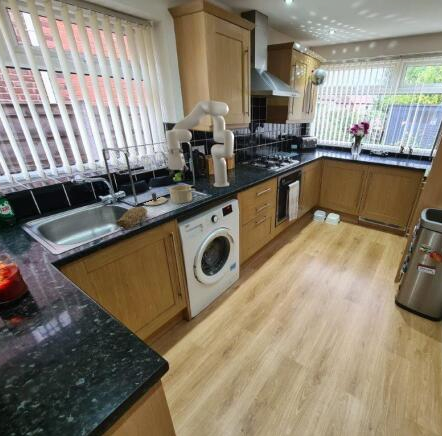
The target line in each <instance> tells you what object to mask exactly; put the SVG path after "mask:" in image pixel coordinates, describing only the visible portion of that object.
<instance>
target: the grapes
mask: <svg viewBox="0 0 442 436" xmlns="http://www.w3.org/2000/svg"><path fill="white" fill-rule="evenodd" d="M175 174H176V175H175V177H174V178H172V180H173V181H174V182H181V181H182V180H181V172H177V173H175Z"/></svg>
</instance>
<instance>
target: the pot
mask: <svg viewBox="0 0 442 436" xmlns="http://www.w3.org/2000/svg"><path fill="white" fill-rule="evenodd" d="M165 191H166V192H167V191H169V195H170V196H169V197H170V202H172V203H173V204H186V203H190V202H191V201H193V193H192V192H194V191H196V189H195V188H192V186H191V185H189V184H178V185H173V186H171V187H167V188H166V189H165Z"/></svg>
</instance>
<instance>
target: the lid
mask: <svg viewBox="0 0 442 436" xmlns="http://www.w3.org/2000/svg"><path fill="white" fill-rule="evenodd" d="M157 197H158V196H157V193H156V192H152V193H151V198H152V199H153V200H152V201H149V202H146V203H143V202H142V204H143V205H145V206H157V205H162V204H165V203H166V202H167V200H168V199H167V198H166V197H164V196H159V197H160V198H158V199H157Z"/></svg>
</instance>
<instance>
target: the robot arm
mask: <svg viewBox="0 0 442 436" xmlns="http://www.w3.org/2000/svg"><path fill="white" fill-rule="evenodd" d="M228 113H229V106H228V104H227V103H225V102H224V101H223V102H222V101H216V100H200V101H199V102H197V104H196V105H195V106H194V107H193V109H192V110H191V112H189V114H188V115H186V116H185V117H183V118H182V119H180V120H179V121H177V123H176V124H175V125H174V126H173V127H172V129H171V130H169V129H168V130H165V140H166V145H167V165H166V167H165V169H166V170H167V171H168V172H169V173H170V175H171V178H172V179H173V178H174V177H175V175H176V174H177V173H175V171H180V172H179V173H180V174H181V181H184V180H185V178H186V177H185V173H186V172H187V171H188V170H189V167H188V166H187V165H186V160H185V156H184V153H183V152H184V150H183V149H182V148H181V143H187V142H190V141H191V140H192V137H193V136H192V132H191V131H190V130H191V129H193V128H195V127H198V126H199V125H201V123H202V122H203V120H204V119H205V117H206V116H207V115H209V117H211V120H212V122H213V133H212V134H213V141H214V142H215V143H219V144H214V145H212V147H211V148H210V153H211V157H212V162H213V170H214V171H213V173H214V183H213V187H215V188H226V187H229V186H230V182H228V174H227V162H226V159H231V158H232V157H233V155H234V146H235V145H234V144H235V143H234V142H235V136H234V132H233V131H232V130H230V129H226V120H225V118H224V117H225V116H227V115H228Z"/></svg>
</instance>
